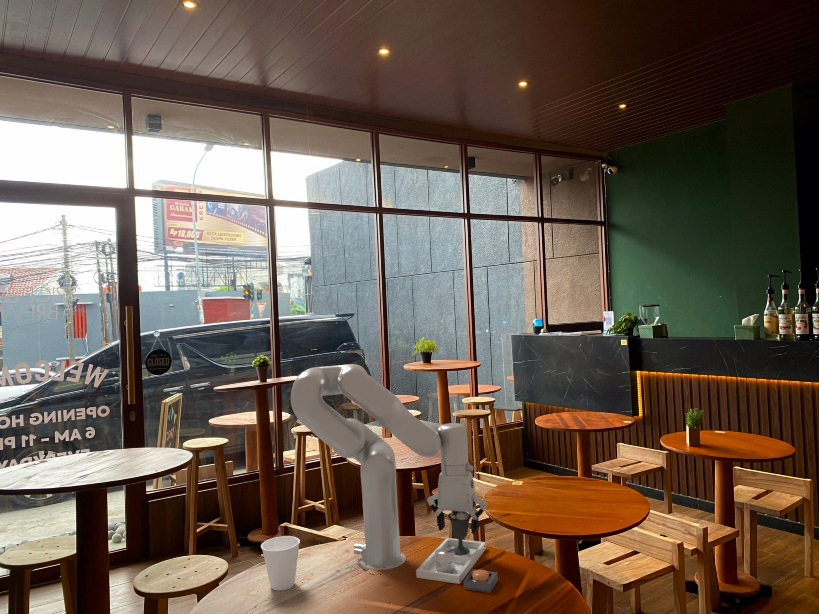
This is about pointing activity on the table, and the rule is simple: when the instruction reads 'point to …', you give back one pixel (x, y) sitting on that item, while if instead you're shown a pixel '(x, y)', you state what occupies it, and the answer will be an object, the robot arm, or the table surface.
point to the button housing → (480, 582)
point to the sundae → (460, 529)
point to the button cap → (480, 575)
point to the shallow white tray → (461, 562)
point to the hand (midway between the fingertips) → (458, 530)
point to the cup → (281, 561)
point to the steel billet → (445, 560)
